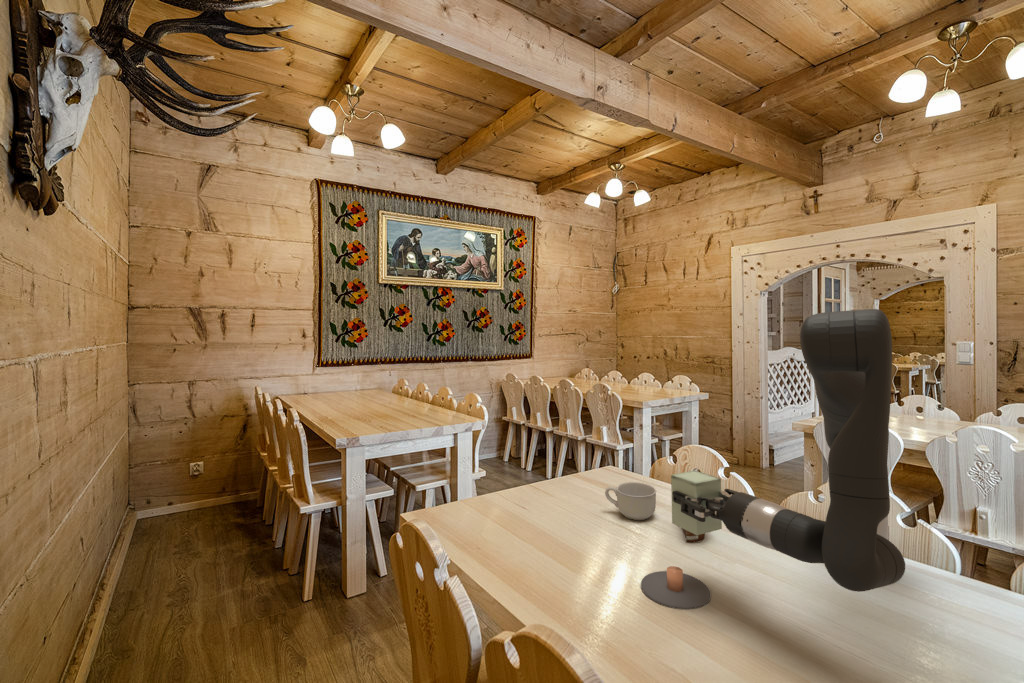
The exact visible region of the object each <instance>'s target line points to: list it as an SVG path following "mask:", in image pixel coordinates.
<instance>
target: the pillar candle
mask: <svg viewBox="0 0 1024 683" xmlns="http://www.w3.org/2000/svg"><path fill="white" fill-rule="evenodd" d="M666 571H667V588H668V589H669V590H671V591H675V592H680V591H682V590H683V573H684V572H683V571H684V570H683V569H682V568H680V567H678V566H674V565H671V566H668V567H667V568H666Z"/></svg>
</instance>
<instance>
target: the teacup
mask: <svg viewBox="0 0 1024 683" xmlns="http://www.w3.org/2000/svg"><path fill="white" fill-rule="evenodd" d="M610 491H613V493H615V497H616V499H613V497H612V496H611V495H610ZM604 492H605V493H604V496H605V498H606V500H608V501H609V502H610V503H611V504H614V506H615V507H616V508H618V510H619V513H621V514H622V515H623V516H624V517H626V519H630V520H632V519H633V521H644V520H647V519H648V518H650V517H651V516H653V514H654V513H655V511H656V508H657V507H656V506H657V502H656V501H657V489H656V488H655V487H654V486H653V485H651V484H648V483H644V482H640V481H639V482H638V481H628V482H627V481H625V482H622V483H619V484H618V485H617V486H616V487H615V486H613V485H610V486H609V485H608V487H606V489H605V491H604Z"/></svg>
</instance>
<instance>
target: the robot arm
mask: <svg viewBox="0 0 1024 683" xmlns="http://www.w3.org/2000/svg"><path fill="white" fill-rule="evenodd" d="M799 340H800V348H801V353H802V356H803V359H804V362H805V365H806V366H807V368H808V371H809V373H810V374H811V377H812V379H813V382H814V388H815V394H816V398H817V401H818V406H819V408H820V411H821V414H822V418H823V424H824V425H823V426H824V437H825V441H826V445H827V447H828V448H829V452H828V457H827V458H828V459H827V471H828V474H827V475H828V488H829V499H830V500H829V506H828V508H827V513H826V518H825V521H824V520H820V519H817V518H813V517H811V516H809V515H807V514H804V513H801V512H797V511H795V510H791V509H788V508H786V507H784V506H782V505H780V504H778V503H776V502H773V501H769V500H767V499H765V498H761V497H759V496H755V495H751V494H749V493H745V492H742V491H736V490H733V489H730V488H725V489H723V490H722V489H721V491H719V497H714V498H713V497H708V496H702V495H700V496H699V497H698V498H695V497H693V496H689V495H686V494H684V493H681V492H678V491H673V493H672V492H671V495H672V494H673V501H674V502H675V503H678V504H680V505H681V512H682V513H684V514H686V515H688V516H690V517H692V518H694V519H696V520H698V521H700V522H705V521H706V518H705V517H712V518H714V519H716V520H722V524H724V526H725V528H726V529H727V531H729V532H730V533H732V534H734V535H736V536H738V537H741V538H742V539H745V540H748V541H750V542H752V543H755V544H757V545H759V546H762V547H764V548H766V549H770V550H773V551H777V552H779V553H781V554H784V555H786V556H788V557H790V558H792V559H795V560H797V561H800V562H803V563H807V564H824V567H825V569H826V570H827V573H828V574H829V576H830V577H831V579H833V581H834V582H835V583H836V584H838V585H839V586H841V587H842V588H844V589H846V590H848V591H852V592H857V593H858V592H860V593H861V592H868V591H871V590H875V589H878V588H883V587H886V586H890V585H893V584H895V583H897V582H899V581H900V580H901V579H902V577H903V576H904V574H905V572H906V562H905V558H904V556H903V554H902V552H901V551H900V549H899V548H898V547H897V546H896V545H895V544H894V543H893V542H892V541H890V526H889V514H890V512H891V511H890V510H891V509H890V508H891V501H890V488H889V487H890V484H889V472H888V471H889V470H888V468H889V467H888V457H889V442H890V440H889V438H890V431H889V429H890V428H889V425H890V417H891V416H890V414H891V400H892V399H891V397H892V379H893V378H892V377H893V376H892V374H893V338H892V330H891V326H890V322H889V318H888V316H887V315H886V313H884V311H883V310H881V309H877V308H873V309H871V308H869V309H868V308H867V309H856V310H854V309H853V310H840V311H826V312H818V313H814V314H811V315H810V316H807V317H806V318H805V319H804V321H803V323H802V325H801V327H800V334H799ZM692 501H696V502H697V503H695V502H692ZM703 501H706V509H705V507H703Z"/></svg>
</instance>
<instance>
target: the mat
mask: <svg viewBox="0 0 1024 683" xmlns="http://www.w3.org/2000/svg"><path fill="white" fill-rule="evenodd" d="M640 588H641V591H642V592H643V594H644V595H645V596H646V597H647V598H648V599H650V600H651V601H653V602H655V603H657V604H659V605H660V606H661V605H662V606H665V607H667V608H673V609H679V610H694V609H699V608H702V607H704V606H706V605H707V604H708V603H709V602H710V600H711V596H712V595H711V590H710V588H709V586H708V585H707V584H706V583H704V582H703V581H702V580H700V579H698V578H696V577H695V576H693V575H691V574H690V575H689V574H688V573H684V572H683V590H682V591H680V592H675V591H671V590H669V589H668V588H667V570H662V571H660V570H659V571H654V572H650V573H647V575H645V576H643V577H642V579H641V582H640Z"/></svg>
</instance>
